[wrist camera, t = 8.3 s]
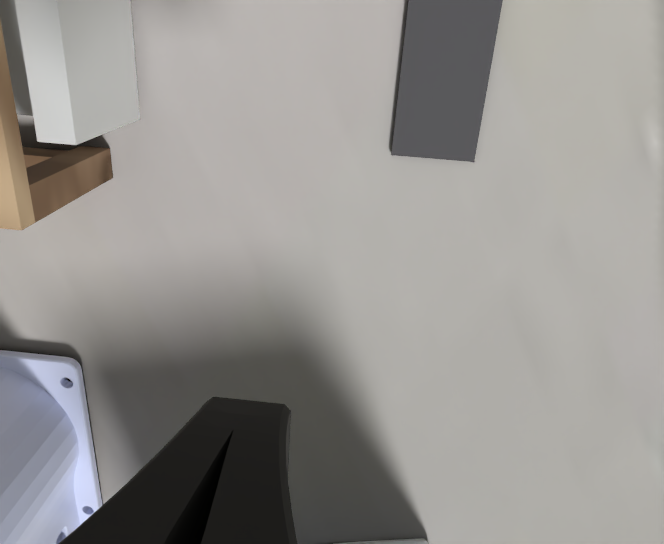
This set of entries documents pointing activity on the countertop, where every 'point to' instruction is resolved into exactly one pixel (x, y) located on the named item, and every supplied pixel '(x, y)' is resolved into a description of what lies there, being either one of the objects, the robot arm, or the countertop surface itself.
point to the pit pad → (444, 77)
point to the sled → (71, 66)
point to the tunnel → (40, 167)
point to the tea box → (392, 542)
